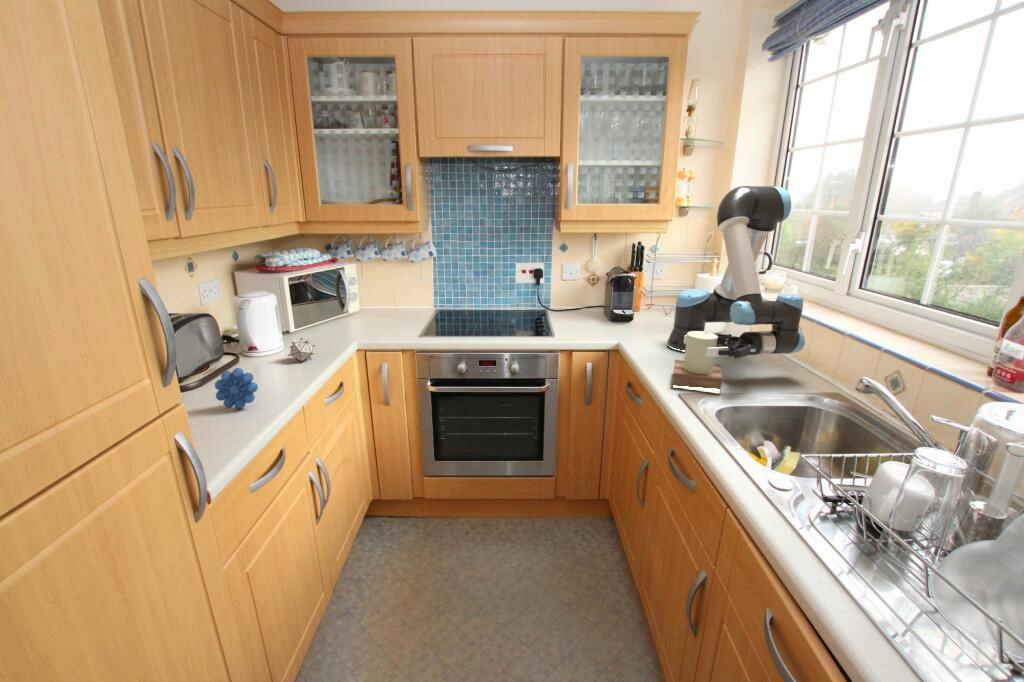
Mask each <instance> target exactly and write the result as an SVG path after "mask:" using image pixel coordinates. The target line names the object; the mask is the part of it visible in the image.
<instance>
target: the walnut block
mask: <svg viewBox="0 0 1024 682" xmlns="http://www.w3.org/2000/svg"><path fill="white" fill-rule="evenodd" d="M683 363H684V360H680V359H675V360H674V366H673V372H672V383H673V384H672V385H677V386H689V387H703V388H717V389H721V388H722V383H723V376H722V371H721V366H720V364H713V372H712V373H709V374H696V373H692V372H688V371H686V370H684V369H683ZM672 385H671V386H672ZM721 390H722V389H721Z"/></svg>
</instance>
